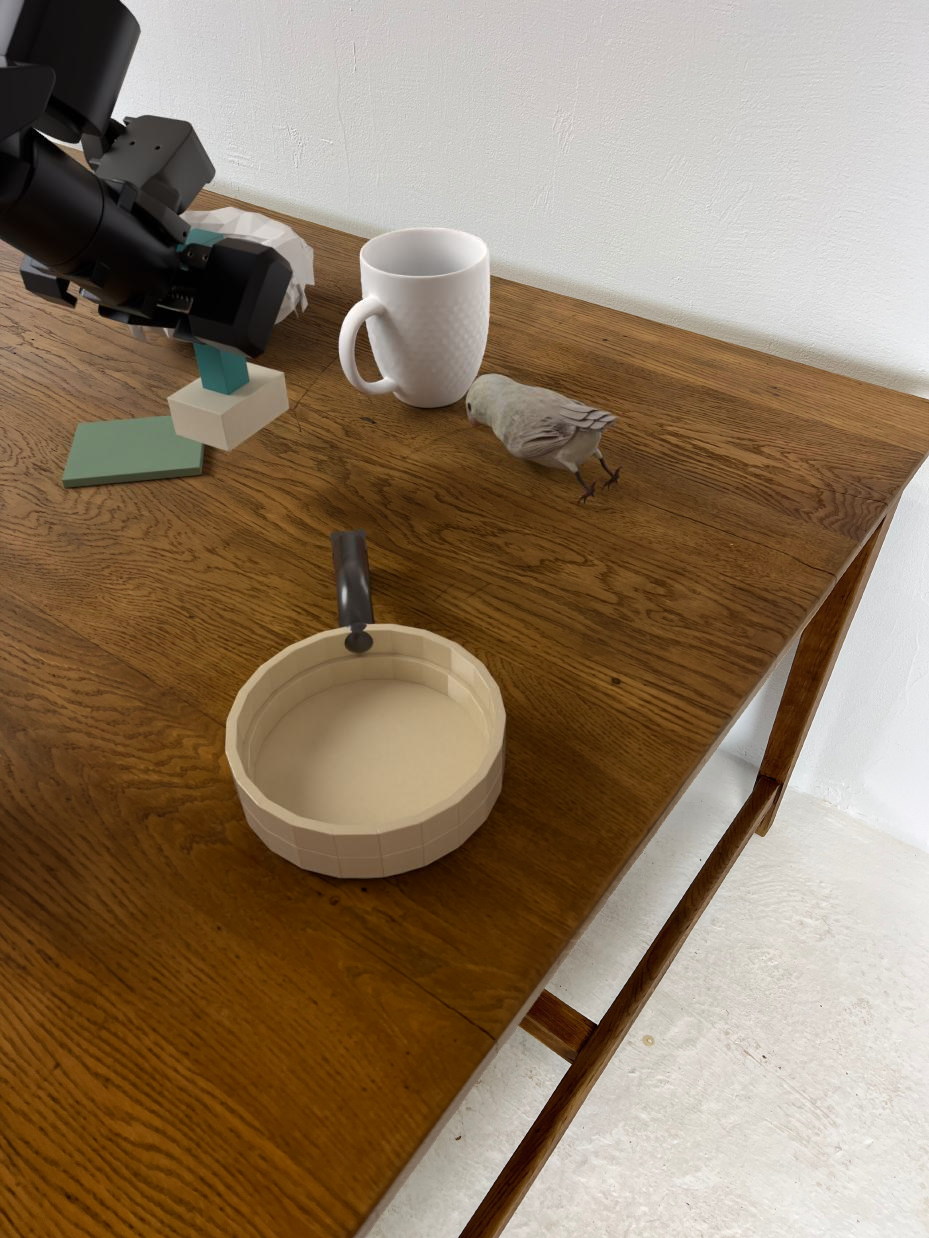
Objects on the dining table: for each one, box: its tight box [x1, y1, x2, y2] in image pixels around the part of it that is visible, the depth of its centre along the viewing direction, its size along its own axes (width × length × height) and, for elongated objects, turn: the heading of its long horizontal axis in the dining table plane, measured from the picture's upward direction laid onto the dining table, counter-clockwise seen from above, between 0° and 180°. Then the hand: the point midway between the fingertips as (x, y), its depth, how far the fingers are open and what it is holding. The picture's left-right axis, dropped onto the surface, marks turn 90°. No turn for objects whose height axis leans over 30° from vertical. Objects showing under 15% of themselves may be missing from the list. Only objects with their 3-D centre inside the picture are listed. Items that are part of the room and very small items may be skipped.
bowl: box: [127, 206, 316, 345], centre depth 94 cm, size 21×20×10 cm
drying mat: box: [61, 414, 205, 489], centre depth 80 cm, size 11×9×1 cm
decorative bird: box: [465, 373, 624, 507], centre depth 75 cm, size 5×16×8 cm, turn 41°
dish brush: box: [166, 228, 290, 453], centre depth 65 cm, size 7×5×14 cm
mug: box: [338, 226, 491, 409], centre depth 82 cm, size 15×11×13 cm
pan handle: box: [330, 528, 376, 654], centre depth 62 cm, size 2×12×5 cm, turn 9°
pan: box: [224, 623, 507, 879], centre depth 53 cm, size 15×15×4 cm
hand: (230, 329), depth 66 cm, fingers closed on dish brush, 2 cm apart
